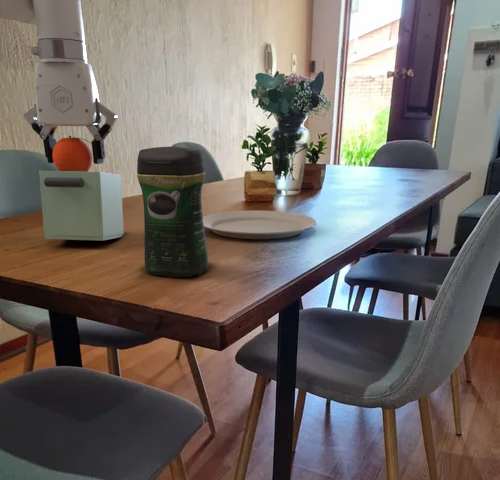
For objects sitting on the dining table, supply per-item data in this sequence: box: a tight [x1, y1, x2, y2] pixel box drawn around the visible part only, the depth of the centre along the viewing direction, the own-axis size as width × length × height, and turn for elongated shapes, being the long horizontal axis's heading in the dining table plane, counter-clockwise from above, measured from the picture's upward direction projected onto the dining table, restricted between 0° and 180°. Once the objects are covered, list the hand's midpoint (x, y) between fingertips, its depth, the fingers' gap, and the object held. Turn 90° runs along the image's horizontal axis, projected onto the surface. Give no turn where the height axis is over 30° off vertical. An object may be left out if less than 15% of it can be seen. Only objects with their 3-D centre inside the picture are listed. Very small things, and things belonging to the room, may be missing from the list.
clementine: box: [52, 135, 93, 172], centre depth 93 cm, size 8×7×7 cm
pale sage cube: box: [38, 170, 125, 242], centre depth 95 cm, size 14×11×12 cm
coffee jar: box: [136, 146, 209, 278], centre depth 77 cm, size 10×8×19 cm
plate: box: [202, 209, 317, 240], centre depth 110 cm, size 26×26×2 cm
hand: (76, 162), depth 93 cm, fingers closed on clementine, 8 cm apart
